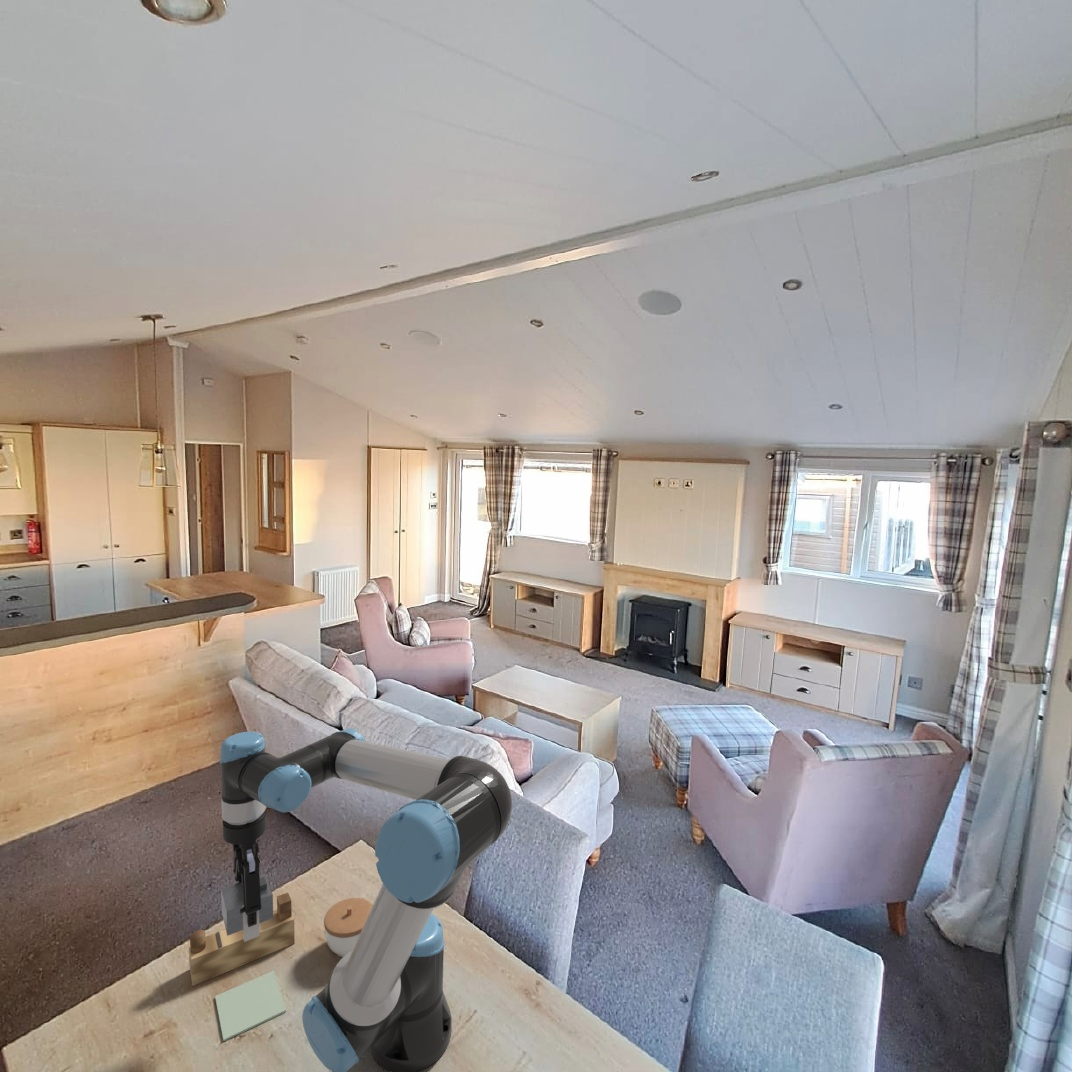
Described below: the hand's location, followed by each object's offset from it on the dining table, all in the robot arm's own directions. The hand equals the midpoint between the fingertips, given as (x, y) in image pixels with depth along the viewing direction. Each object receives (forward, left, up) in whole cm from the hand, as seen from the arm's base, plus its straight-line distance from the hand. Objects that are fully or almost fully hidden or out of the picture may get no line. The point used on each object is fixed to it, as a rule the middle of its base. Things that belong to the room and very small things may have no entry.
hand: (247, 924), depth 116 cm
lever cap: (0, 0, +2) cm, 2 cm away
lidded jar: (+3, -21, -18) cm, 28 cm away
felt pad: (0, 0, -17) cm, 17 cm away
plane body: (+13, -1, -17) cm, 22 cm away
